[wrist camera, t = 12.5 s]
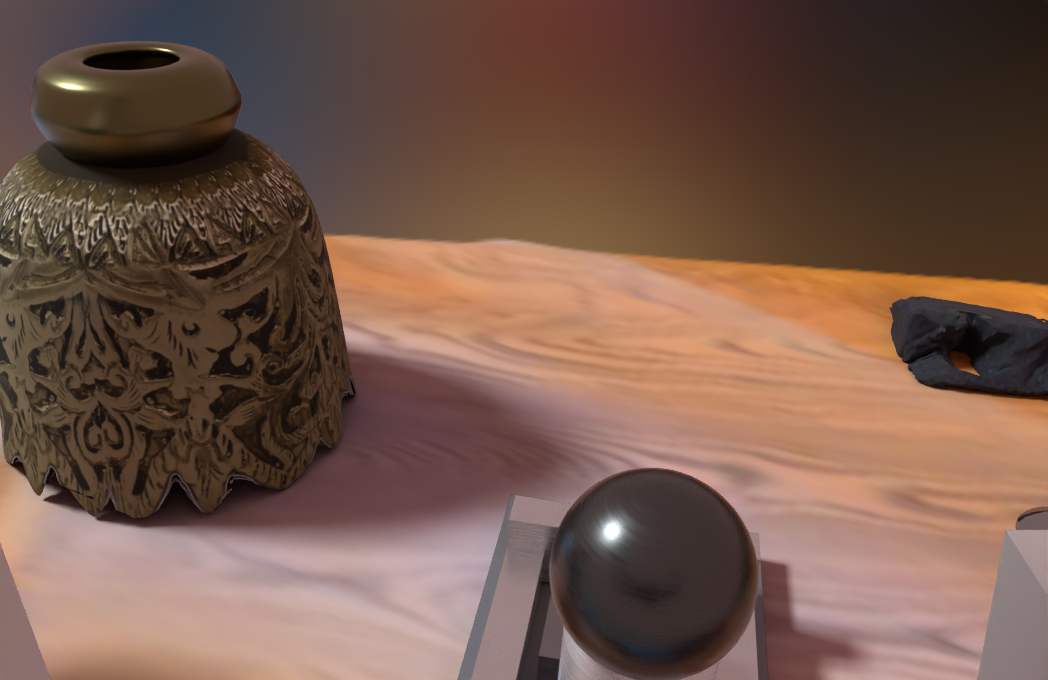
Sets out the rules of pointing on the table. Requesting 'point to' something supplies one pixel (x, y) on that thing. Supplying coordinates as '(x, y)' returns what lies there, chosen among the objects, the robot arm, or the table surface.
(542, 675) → the grey rectangular block
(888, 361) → the table surface
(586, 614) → the press ram
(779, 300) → the table surface
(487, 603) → the press bench
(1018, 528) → the wine glass
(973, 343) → the black crumpled cloth
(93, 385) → the lamp shade
